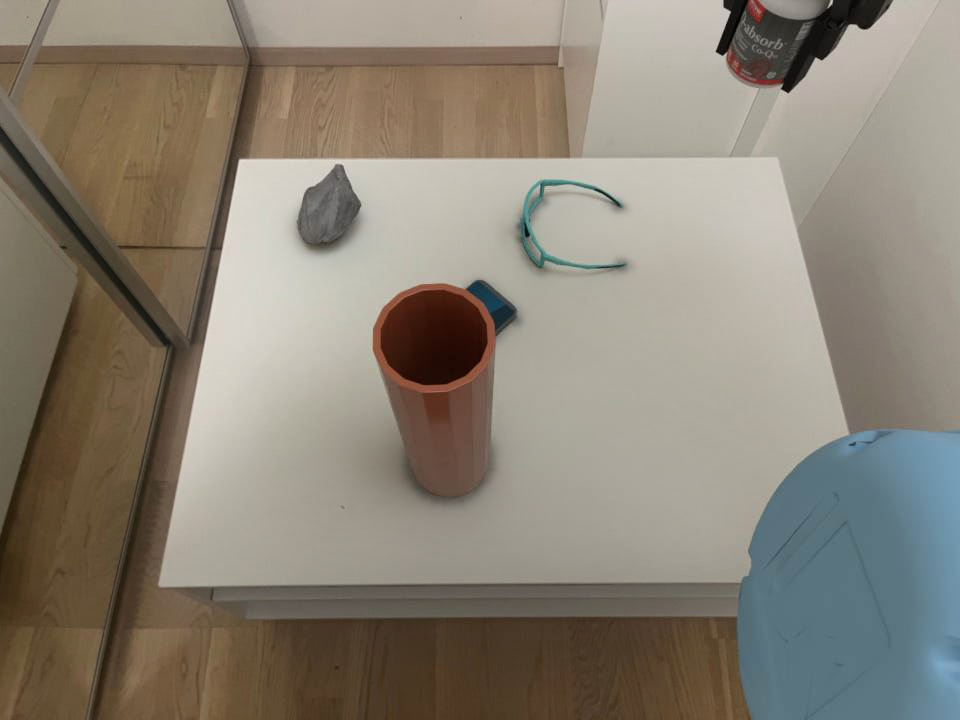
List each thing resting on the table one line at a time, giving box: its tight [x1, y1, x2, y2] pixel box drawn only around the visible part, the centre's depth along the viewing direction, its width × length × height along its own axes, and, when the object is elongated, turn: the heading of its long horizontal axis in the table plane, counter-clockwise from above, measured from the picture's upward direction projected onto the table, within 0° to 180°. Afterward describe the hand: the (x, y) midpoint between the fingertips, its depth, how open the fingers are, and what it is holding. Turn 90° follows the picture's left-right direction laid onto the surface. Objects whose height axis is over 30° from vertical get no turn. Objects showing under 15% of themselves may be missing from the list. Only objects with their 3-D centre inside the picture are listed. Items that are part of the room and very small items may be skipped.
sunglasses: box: [519, 179, 628, 270], centre depth 91 cm, size 14×15×5 cm
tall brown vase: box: [372, 282, 497, 498], centre depth 65 cm, size 9×9×32 cm
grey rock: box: [296, 163, 362, 245], centre depth 90 cm, size 11×9×8 cm
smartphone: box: [464, 279, 518, 337], centre depth 86 cm, size 8×15×1 cm, turn 135°
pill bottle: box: [725, 0, 832, 90], centre depth 52 cm, size 6×6×10 cm
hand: (760, 63), depth 56 cm, fingers closed on pill bottle, 6 cm apart
